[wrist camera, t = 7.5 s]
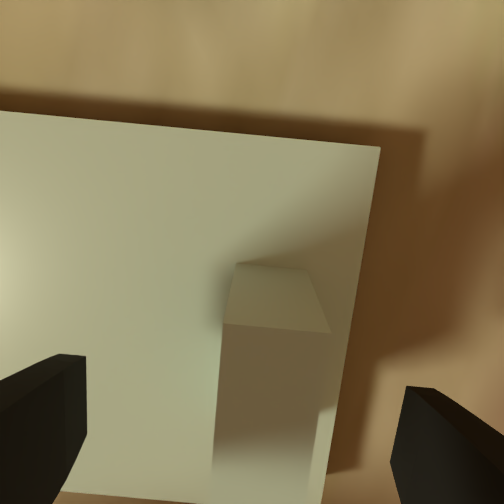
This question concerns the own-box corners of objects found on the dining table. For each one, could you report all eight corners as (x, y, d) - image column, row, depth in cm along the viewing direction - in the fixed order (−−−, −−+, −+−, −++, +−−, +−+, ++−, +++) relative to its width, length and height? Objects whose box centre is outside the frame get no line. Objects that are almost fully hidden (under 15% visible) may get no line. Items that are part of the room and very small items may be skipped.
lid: (312, 472, 15) (343, 666, 9) (-82, 436, 15) (-289, 608, 9) (363, 147, 12) (454, 144, 6) (-129, 100, 12) (-478, 54, 6)
